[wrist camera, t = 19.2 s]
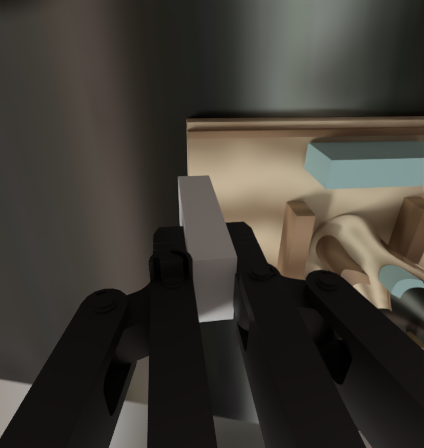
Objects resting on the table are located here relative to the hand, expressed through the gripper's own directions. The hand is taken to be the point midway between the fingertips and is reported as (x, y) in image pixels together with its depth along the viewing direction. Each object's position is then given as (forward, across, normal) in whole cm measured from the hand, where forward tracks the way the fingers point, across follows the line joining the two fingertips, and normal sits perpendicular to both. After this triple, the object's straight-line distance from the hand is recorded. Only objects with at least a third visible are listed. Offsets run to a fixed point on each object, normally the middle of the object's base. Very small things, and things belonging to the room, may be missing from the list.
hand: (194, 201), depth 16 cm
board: (+9, +13, -7) cm, 18 cm away
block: (+8, +14, -1) cm, 16 cm away
